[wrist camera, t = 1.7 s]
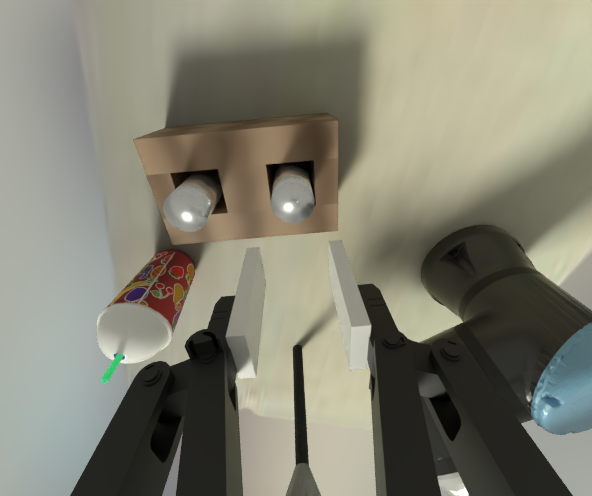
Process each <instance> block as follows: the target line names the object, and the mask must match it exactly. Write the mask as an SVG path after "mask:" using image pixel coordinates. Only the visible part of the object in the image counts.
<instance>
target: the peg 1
mask: <svg viewBox="0 0 592 496" xmlns="http://www.w3.org/2000/svg"><path fill="white" fill-rule="evenodd" d="M222 194H223V189H222V185H221V181H220V177H219V175H218V174H217V173H215V172H214V171H212V170H199V171H195V172H193V173H192V174H191V175H190V176H189V177H188V178H187V179H186V180H185V181H184V182H183V183H182V184H181V185H180V186H179V187H178V188H177V189H176V190H174V191H173V192H172V193H171V194H170V195H169V196H168V197H167V198H166V199H165V201H164V204H163V213H164V216H165V218H166V219H167V221H168V222H169V223H170V224H171V225H172V226H173V227H175V228H177V229H179V230H181V231H185V232H194V231H197V230H199V229H201V228H202V227H203V226H204V225H205V224H206V222H207V220H208V218H209V217H210V215H211V213H212V212H213V210H214V208H215V206H216V205H217V203H218V201H219V200H220V198H221V196H222Z"/></svg>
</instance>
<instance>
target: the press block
mask: <svg viewBox="0 0 592 496" xmlns="http://www.w3.org/2000/svg"><path fill="white" fill-rule="evenodd" d="M133 141H134V144H135V147H136V149H137V152H138V155H139V157H140V160H141V163H142V165H143V168H144V171H145V173H146V176H147V179H148V181H149V184H150V186H151V189H152V192H153V194H154V197H155V200H156V202H157V205H158V208H159V210H160V213H161V216H162V218H163V221H164V224H165V226H166V229H167V232H168V234H169V237H170V239H171V242H172V245H178V244H190V243H202V242H214V241H225V240H237V239H249V238H260V237H272V236H284V235H295V234H307V233H319V232H331V231H338V120H337V119H335V118H334V117H332V116H331V115H330V114H328V113H322V114H311V115H300V116H289V117H278V118H268V119H257V120H246V121H235V122H225V123H214V124H203V125H192V126H182V127H171V128H164V129H161V130H158V131H155V132H152V133H150V134H147V135H144V136H141V137H139V138H136V139H133ZM299 161H309V164H310V184H311V188H312V192H313V196H314V208H313V211H312V213H311V214H310V216H309V217H308V218H306V219H305V220H303V221H301V222H298V223H288V222H284V221H282V220H281V219H279V218H278V217H277V216H276V215H275V214H274V212H273V210H272V207H271V198H272V190H273V183H274V178H273V170H272V164H277V163H288V162H299ZM210 169H218V172H219V177H220V181H221V185H222V189H223V194H222V196H221V198H220V200H219V201H218V203H217V205H216V206H215V208H214V210H213V212H212V213H211V215H210V217H209V218H208V220H207V222H206V224H205V225H204V226H203V227H202V228H201V229H199V230H197V231H194V232H185V231H181V230H179V229H177V228H175V227H173V226H172V225H171V224H170V223H169V222H168V221H167V219H166V218H165V216H164V213H163V204H164V201H165V199H166V198H167V197H168V196H169V195H170V194H171V193H172V192H173V191H174V190H176V189H177V188H178V187H179V186H180V185H181V184H182V183H183V182H184V181H185V180H186V179H187V178H188V177H189V176H190V175H191V174H192V173H193V172H195V171H199V170H210Z"/></svg>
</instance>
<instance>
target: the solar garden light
mask: <svg viewBox="0 0 592 496" xmlns="http://www.w3.org/2000/svg"><path fill="white" fill-rule="evenodd" d="M293 369H294V411H295V451H296V467H295V470H294V473H293V476H292V479H291V482H290V484H289V487H288V490H287V493H286V496H321V494H320V492H319V489H318V487H317V485H316V482H315V480H314V477H313V475H312V473H311V470H310V468H309V462H308V444H307V427H306V410H305V392H304V375H303V358H302V347H301V346H299V345H296V346H294V347H293Z"/></svg>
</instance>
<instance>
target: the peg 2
mask: <svg viewBox="0 0 592 496" xmlns="http://www.w3.org/2000/svg"><path fill="white" fill-rule="evenodd" d="M271 207H272V210H273V212H274V214H275V215H276V216H277V217H278V218H279V219H281V220H282V221H284V222H288V223H298V222H301V221H303V220H305V219H306V218H308V217H309V216H310V214H311V213H312V211H313V208H314V196H313V192H312V188H311V184H310V180H309V175H308V172H307V170H306V168H305V167H304V166H303V165H302V164H301V163H299V162H288V163H282V164H281V165H280V166H279V167H278V168H277V170H276V172H275V175H274V183H273V190H272V198H271Z"/></svg>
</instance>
